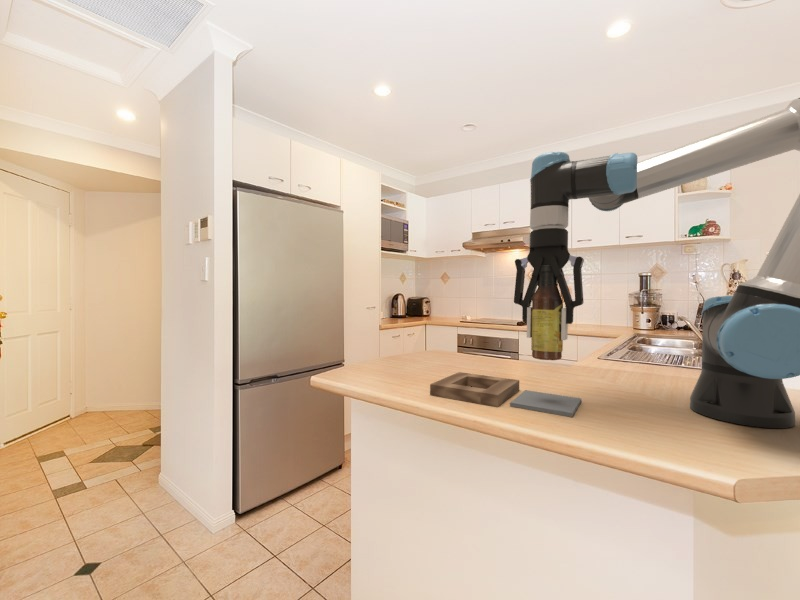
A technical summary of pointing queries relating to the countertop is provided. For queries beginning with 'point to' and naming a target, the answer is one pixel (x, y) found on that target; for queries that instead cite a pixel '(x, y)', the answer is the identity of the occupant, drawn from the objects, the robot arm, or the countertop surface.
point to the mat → (547, 403)
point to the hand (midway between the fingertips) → (546, 338)
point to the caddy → (459, 388)
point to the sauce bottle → (546, 317)
